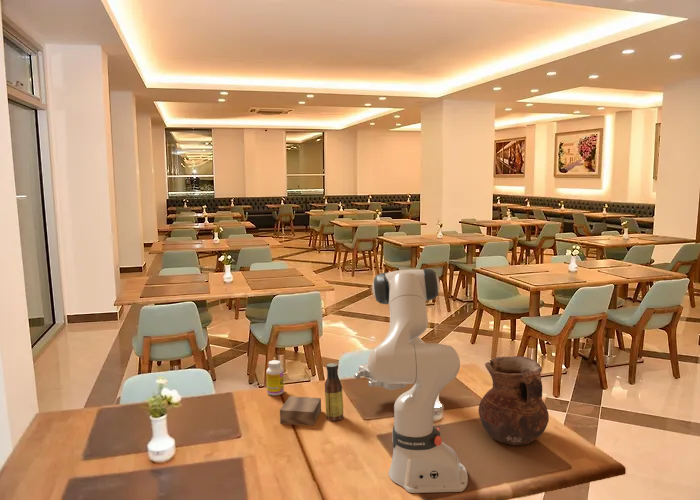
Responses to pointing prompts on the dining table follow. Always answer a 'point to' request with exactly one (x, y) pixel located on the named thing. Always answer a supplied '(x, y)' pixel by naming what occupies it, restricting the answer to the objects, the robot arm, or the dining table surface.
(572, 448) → the dining table surface
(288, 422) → the walnut block
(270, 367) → the supplement bottle
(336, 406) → the sauce bottle
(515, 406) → the jug
